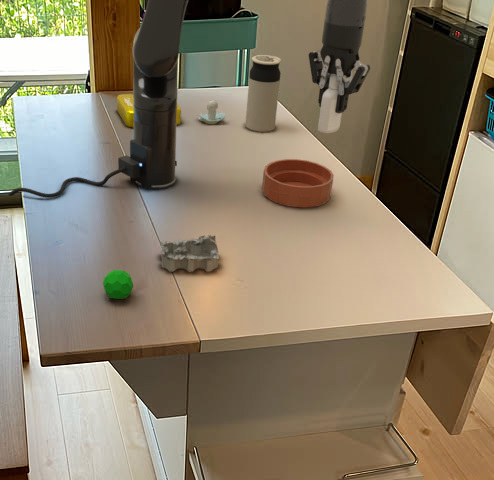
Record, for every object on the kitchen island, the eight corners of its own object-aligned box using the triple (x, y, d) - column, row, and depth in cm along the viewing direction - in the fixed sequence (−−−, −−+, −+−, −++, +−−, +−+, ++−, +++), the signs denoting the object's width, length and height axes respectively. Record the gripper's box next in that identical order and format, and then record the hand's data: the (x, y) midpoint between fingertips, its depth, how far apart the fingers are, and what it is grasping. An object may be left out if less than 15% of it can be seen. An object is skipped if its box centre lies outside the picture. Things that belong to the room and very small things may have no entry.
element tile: (115, 109, 197) (115, 92, 195) (168, 107, 201) (168, 90, 199) (127, 128, 186) (127, 110, 183) (182, 125, 190) (183, 107, 187)
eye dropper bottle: (345, 132, 145) (355, 72, 138) (321, 134, 144) (330, 74, 137) (335, 124, 149) (344, 66, 142) (311, 127, 147) (319, 68, 140)
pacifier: (194, 118, 195) (200, 125, 190) (195, 95, 192) (201, 102, 187) (220, 117, 197) (226, 124, 192) (221, 94, 193) (228, 101, 189)
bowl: (299, 215, 149) (302, 193, 147) (247, 190, 158) (249, 169, 155) (344, 196, 158) (347, 175, 155) (292, 174, 167) (295, 153, 164)
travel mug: (250, 133, 188) (257, 63, 177) (241, 122, 194) (246, 54, 184) (278, 131, 190) (286, 62, 179) (268, 121, 196) (275, 54, 186)
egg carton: (216, 253, 134) (218, 234, 132) (218, 274, 128) (220, 254, 126) (160, 251, 134) (160, 232, 131) (159, 272, 128) (160, 252, 125)
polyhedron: (123, 285, 123) (122, 261, 121) (138, 298, 120) (138, 274, 118) (98, 294, 121) (97, 270, 118) (113, 307, 118) (112, 283, 115)
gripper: (303, 14, 136) (293, 104, 146) (363, 29, 128) (348, 123, 137) (327, 10, 140) (316, 97, 150) (387, 24, 132) (371, 115, 142)
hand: (331, 109), depth 144 cm, fingers closed on eye dropper bottle, 3 cm apart
